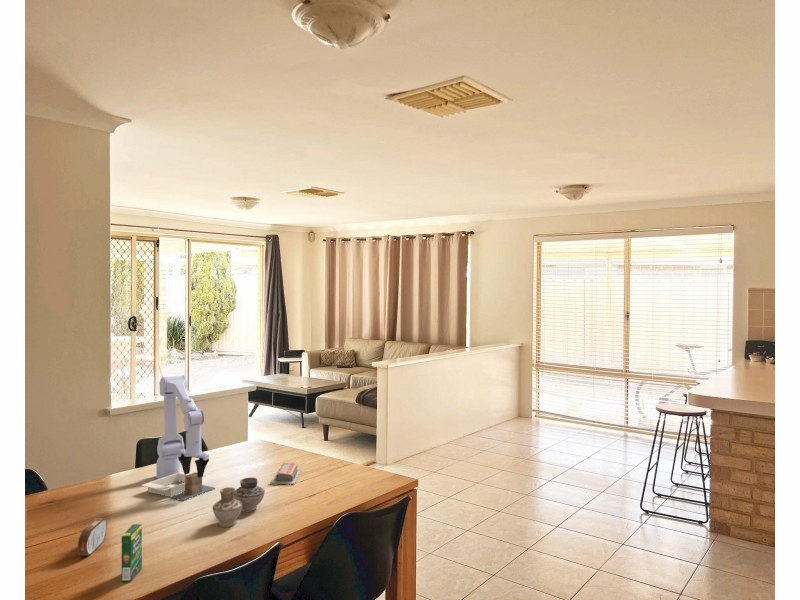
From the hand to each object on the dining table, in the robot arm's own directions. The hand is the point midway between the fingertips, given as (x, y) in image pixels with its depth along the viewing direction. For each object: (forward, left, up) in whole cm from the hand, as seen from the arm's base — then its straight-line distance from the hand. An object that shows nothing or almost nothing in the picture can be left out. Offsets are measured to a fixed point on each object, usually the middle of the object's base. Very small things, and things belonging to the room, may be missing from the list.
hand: (193, 475), depth 227 cm
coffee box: (+37, -55, -7) cm, 67 cm away
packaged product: (+20, +33, -8) cm, 39 cm away
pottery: (+32, -8, -8) cm, 34 cm away
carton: (-11, 0, -7) cm, 13 cm away
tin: (+12, -50, -7) cm, 52 cm away
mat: (0, 0, -7) cm, 7 cm away
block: (0, 0, -7) cm, 7 cm away
